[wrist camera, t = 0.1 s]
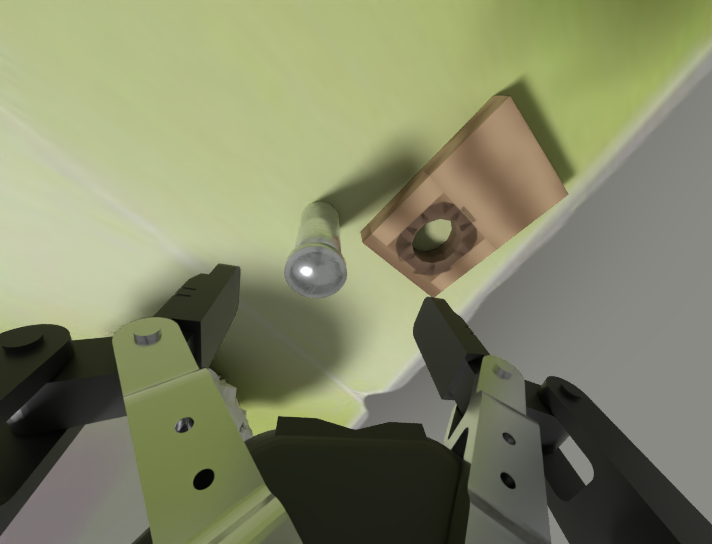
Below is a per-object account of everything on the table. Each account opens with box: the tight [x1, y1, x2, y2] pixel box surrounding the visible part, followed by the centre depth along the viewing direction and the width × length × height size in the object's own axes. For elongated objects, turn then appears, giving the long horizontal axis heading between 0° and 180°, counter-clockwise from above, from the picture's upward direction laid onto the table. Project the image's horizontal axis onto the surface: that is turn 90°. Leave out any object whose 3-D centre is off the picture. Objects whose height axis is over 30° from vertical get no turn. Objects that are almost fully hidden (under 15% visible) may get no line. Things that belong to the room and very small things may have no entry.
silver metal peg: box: [285, 202, 347, 298], centre depth 28 cm, size 5×5×12 cm
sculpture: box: [0, 368, 253, 544], centre depth 35 cm, size 33×36×30 cm
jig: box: [361, 96, 568, 297], centre depth 32 cm, size 20×14×3 cm
